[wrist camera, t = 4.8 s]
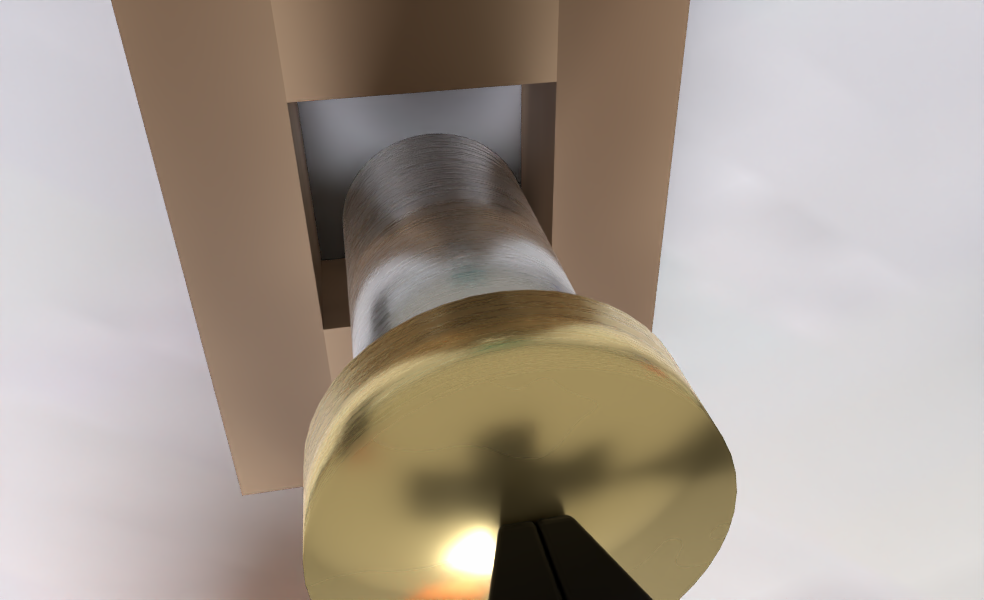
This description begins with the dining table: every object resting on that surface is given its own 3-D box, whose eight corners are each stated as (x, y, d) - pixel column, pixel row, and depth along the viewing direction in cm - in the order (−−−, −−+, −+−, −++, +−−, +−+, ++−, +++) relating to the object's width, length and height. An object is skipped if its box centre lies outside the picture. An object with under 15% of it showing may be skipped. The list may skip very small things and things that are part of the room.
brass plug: (560, 86, 15) (771, 340, 8) (553, 309, 18) (706, 639, 11) (286, 108, 14) (265, 408, 7) (323, 337, 17) (333, 710, 10)
